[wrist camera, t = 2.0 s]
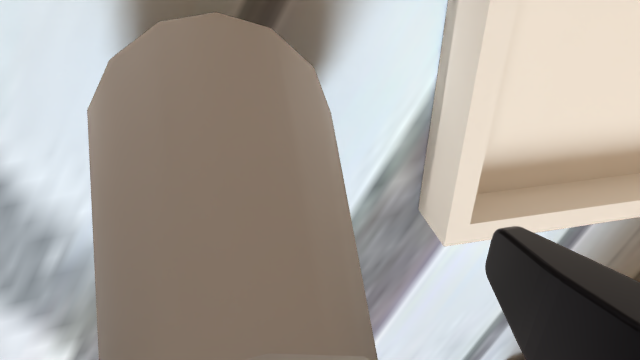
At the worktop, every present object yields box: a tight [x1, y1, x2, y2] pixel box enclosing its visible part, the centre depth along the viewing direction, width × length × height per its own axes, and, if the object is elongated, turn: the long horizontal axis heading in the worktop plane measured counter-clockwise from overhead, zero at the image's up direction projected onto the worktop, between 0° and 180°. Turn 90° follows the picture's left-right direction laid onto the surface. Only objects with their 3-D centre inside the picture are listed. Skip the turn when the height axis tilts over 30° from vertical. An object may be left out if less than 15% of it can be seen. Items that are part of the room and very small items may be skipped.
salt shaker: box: [87, 12, 378, 360], centre depth 9 cm, size 6×6×13 cm
